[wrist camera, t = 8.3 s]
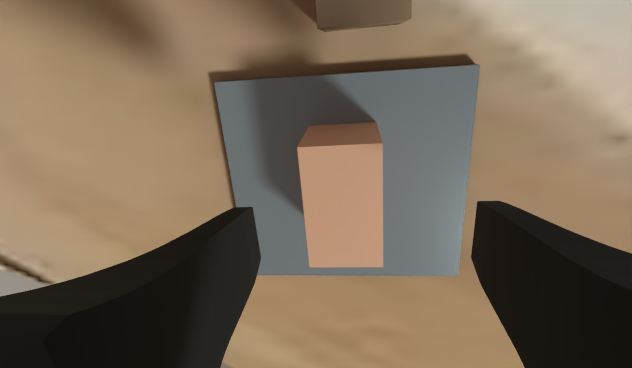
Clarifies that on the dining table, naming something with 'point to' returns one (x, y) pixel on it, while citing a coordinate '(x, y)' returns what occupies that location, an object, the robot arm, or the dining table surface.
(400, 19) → the walnut brick
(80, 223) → the dining table surface
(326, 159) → the terracotta brick
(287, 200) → the grey flat square slab
